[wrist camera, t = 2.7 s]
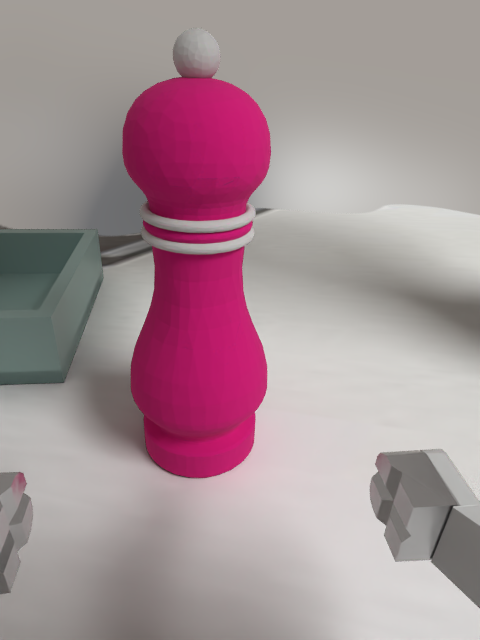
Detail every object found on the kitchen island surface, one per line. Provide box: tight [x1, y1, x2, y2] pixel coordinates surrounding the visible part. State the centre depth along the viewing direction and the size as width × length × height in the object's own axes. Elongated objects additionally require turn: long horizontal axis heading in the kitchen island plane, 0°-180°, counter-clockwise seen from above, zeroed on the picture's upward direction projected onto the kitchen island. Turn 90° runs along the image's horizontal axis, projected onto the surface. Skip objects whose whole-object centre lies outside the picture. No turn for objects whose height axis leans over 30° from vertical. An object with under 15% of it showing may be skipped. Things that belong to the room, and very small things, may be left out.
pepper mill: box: [123, 28, 271, 478], centre depth 21 cm, size 7×7×20 cm
